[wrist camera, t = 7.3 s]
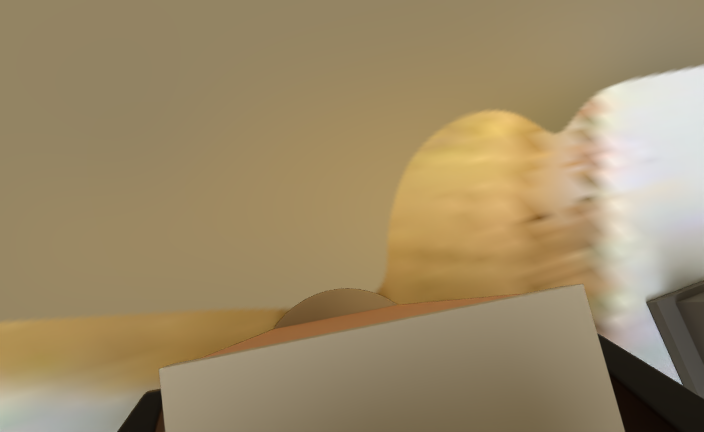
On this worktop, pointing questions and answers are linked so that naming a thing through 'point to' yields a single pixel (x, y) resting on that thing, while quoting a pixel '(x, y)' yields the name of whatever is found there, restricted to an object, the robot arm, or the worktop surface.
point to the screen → (683, 332)
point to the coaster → (333, 306)
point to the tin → (408, 372)
